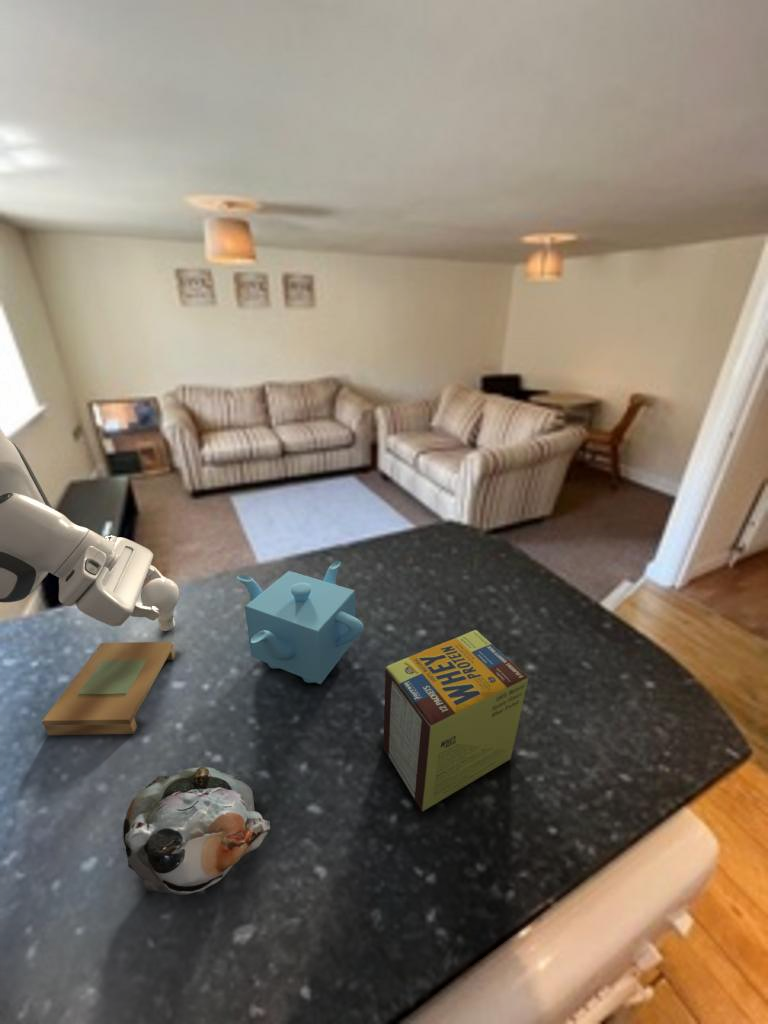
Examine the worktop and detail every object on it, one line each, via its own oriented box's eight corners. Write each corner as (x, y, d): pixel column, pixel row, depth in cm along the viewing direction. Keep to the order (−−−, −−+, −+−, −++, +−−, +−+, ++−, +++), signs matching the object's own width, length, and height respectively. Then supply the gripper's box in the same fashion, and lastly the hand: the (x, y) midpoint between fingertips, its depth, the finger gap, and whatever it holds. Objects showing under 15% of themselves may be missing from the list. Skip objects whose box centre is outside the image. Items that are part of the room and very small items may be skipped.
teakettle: (370, 679, 75) (371, 608, 69) (255, 710, 69) (245, 635, 63) (339, 613, 91) (338, 550, 85) (244, 632, 85) (235, 566, 79)
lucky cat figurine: (264, 776, 59) (284, 749, 50) (248, 895, 51) (268, 891, 42) (142, 769, 55) (138, 738, 46) (104, 898, 47) (89, 893, 38)
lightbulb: (174, 642, 82) (162, 592, 77) (142, 637, 83) (129, 588, 78) (192, 620, 88) (183, 573, 83) (162, 616, 89) (152, 569, 84)
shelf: (48, 735, 64) (41, 719, 63) (106, 655, 79) (101, 641, 77) (133, 734, 65) (128, 718, 63) (175, 655, 79) (172, 640, 78)
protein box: (512, 759, 63) (530, 676, 56) (421, 814, 56) (430, 727, 49) (465, 705, 71) (476, 627, 64) (380, 747, 64) (383, 665, 57)
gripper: (95, 544, 85) (161, 580, 92) (55, 609, 68) (140, 648, 74) (116, 520, 84) (181, 559, 91) (80, 580, 67) (164, 622, 73)
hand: (162, 599), depth 82 cm, fingers open, 8 cm apart
